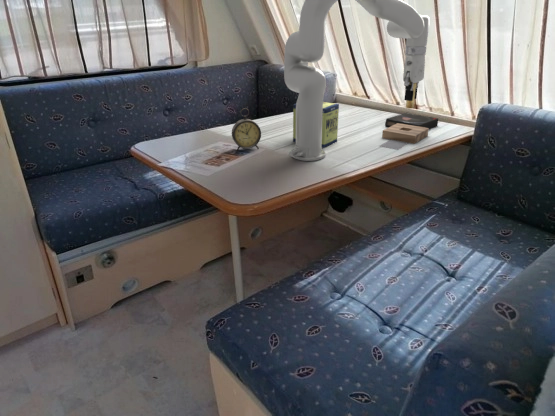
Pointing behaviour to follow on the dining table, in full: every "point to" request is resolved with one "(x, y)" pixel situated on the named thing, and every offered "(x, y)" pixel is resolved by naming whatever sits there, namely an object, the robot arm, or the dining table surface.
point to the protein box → (324, 123)
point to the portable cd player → (412, 120)
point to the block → (405, 133)
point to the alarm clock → (246, 133)
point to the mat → (393, 144)
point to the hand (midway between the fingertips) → (410, 99)
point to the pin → (411, 103)
